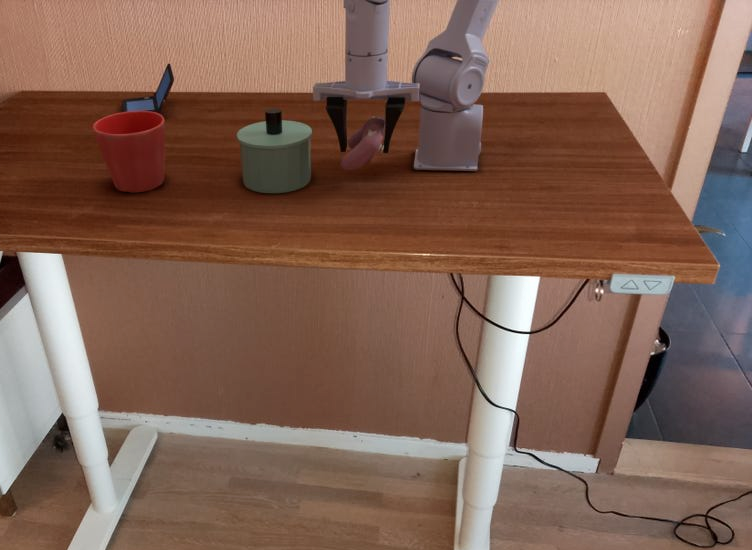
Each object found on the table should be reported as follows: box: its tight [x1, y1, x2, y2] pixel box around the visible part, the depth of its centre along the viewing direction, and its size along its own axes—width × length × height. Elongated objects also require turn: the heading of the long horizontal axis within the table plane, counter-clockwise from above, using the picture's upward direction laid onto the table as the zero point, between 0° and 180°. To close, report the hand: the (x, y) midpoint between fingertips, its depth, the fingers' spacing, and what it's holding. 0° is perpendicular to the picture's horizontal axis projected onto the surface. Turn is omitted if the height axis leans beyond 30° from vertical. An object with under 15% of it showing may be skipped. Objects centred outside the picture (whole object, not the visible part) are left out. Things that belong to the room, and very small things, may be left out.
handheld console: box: [121, 62, 175, 116], centre depth 141 cm, size 12×11×7 cm
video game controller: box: [340, 115, 385, 171], centre depth 104 cm, size 10×5×7 cm, turn 168°
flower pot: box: [92, 111, 166, 193], centre depth 110 cm, size 11×11×10 cm
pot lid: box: [236, 107, 313, 149], centre depth 106 cm, size 11×11×4 cm
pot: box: [239, 138, 312, 194], centre depth 109 cm, size 10×10×7 cm
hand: (364, 150), depth 105 cm, fingers closed on video game controller, 5 cm apart
